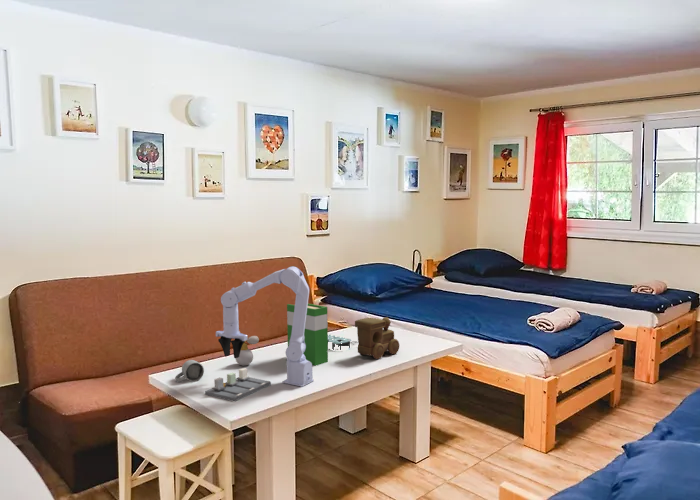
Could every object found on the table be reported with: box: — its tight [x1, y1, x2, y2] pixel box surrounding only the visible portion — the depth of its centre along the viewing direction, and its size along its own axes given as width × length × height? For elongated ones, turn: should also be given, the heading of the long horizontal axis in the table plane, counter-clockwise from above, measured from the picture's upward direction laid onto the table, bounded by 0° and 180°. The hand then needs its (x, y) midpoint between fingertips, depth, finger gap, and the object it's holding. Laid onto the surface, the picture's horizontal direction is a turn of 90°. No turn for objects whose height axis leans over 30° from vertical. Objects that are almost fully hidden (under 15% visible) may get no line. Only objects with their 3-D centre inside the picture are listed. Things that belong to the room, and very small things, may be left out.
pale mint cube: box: [224, 372, 238, 386], centre depth 206 cm, size 4×3×4 cm
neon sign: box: [328, 334, 358, 350], centre depth 271 cm, size 21×4×29 cm
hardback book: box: [286, 303, 329, 367], centre depth 241 cm, size 18×7×24 cm, turn 47°
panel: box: [204, 376, 272, 402], centre depth 205 cm, size 14×20×2 cm
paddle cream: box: [236, 367, 250, 381], centre depth 212 cm, size 4×3×4 cm
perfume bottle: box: [234, 335, 260, 367], centre depth 236 cm, size 8×10×12 cm
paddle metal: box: [211, 377, 226, 391], centre depth 201 cm, size 4×3×4 cm
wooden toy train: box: [354, 317, 400, 360], centre depth 248 cm, size 20×11×17 cm, turn 135°
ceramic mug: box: [174, 359, 205, 383], centre depth 216 cm, size 10×8×7 cm
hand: (231, 356), depth 214 cm, fingers open, 4 cm apart
